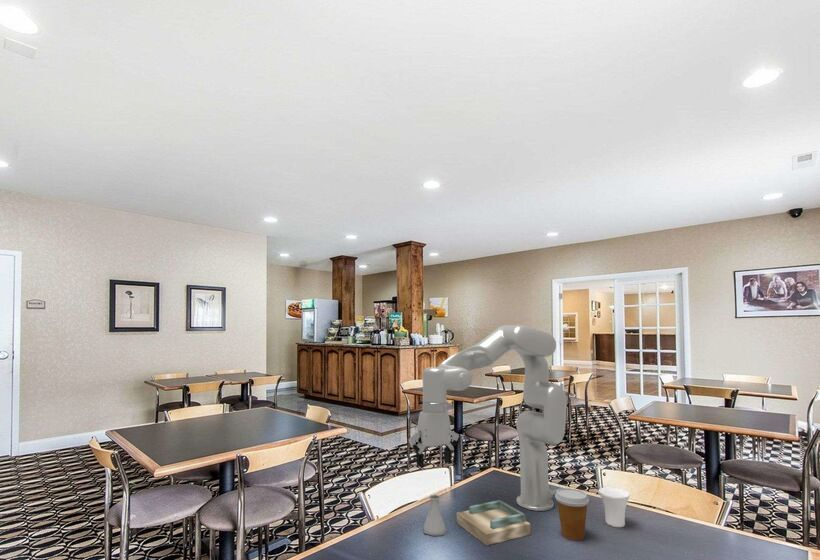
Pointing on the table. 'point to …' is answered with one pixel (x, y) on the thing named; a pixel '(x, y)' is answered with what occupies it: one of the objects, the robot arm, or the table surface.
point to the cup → (614, 505)
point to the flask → (434, 519)
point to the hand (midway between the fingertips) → (434, 464)
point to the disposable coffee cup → (572, 512)
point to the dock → (494, 522)
